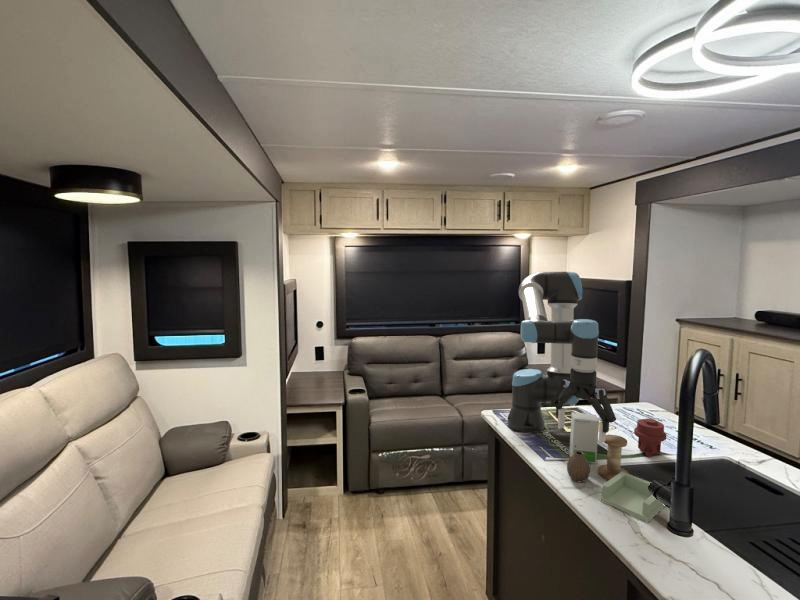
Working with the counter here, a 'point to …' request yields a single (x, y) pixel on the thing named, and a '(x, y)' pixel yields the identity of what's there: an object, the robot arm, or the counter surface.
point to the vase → (578, 467)
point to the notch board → (631, 496)
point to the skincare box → (584, 435)
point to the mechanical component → (650, 436)
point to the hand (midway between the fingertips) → (580, 434)
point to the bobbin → (613, 457)
